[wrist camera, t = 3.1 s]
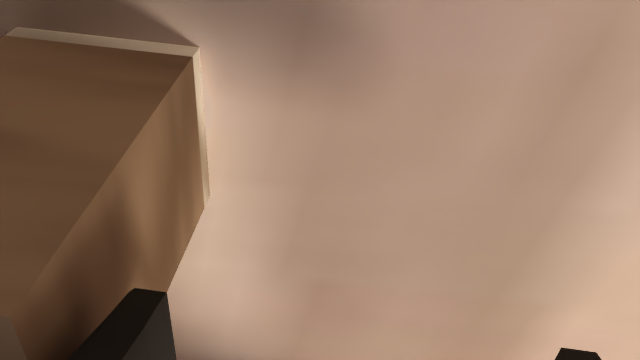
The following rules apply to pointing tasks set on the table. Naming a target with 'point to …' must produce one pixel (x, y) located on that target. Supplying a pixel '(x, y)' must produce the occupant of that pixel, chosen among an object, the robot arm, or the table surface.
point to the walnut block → (92, 180)
